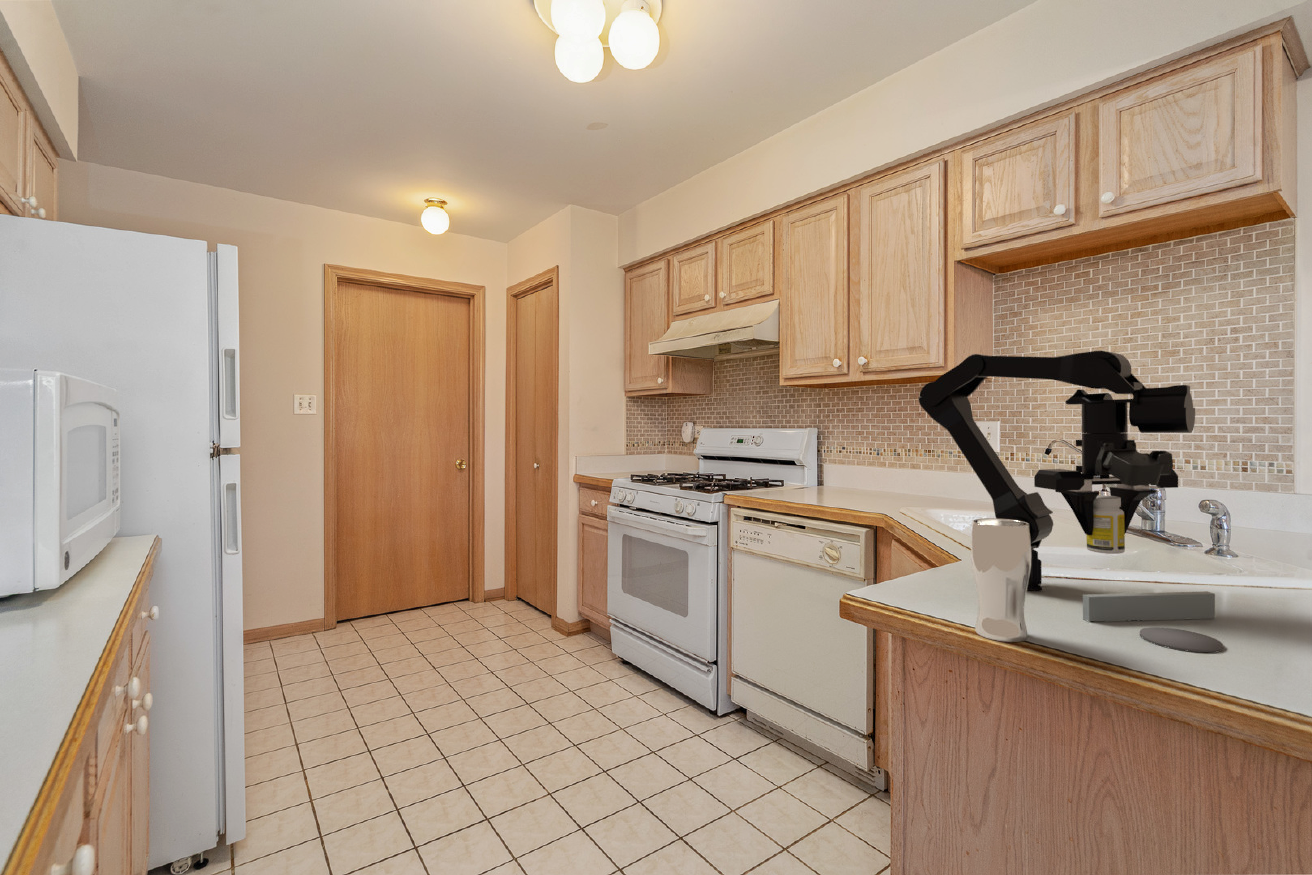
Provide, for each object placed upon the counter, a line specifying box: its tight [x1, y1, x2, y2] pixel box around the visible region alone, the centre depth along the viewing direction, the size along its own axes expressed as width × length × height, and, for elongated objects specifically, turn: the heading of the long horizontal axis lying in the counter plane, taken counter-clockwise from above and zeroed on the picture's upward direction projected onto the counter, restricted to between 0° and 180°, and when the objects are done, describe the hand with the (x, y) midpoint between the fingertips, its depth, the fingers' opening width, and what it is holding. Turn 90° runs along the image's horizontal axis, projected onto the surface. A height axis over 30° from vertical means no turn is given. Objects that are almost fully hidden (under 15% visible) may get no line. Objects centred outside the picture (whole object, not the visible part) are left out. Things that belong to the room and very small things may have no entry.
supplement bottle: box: [1085, 494, 1126, 555], centre depth 94 cm, size 5×5×8 cm
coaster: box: [1139, 626, 1224, 653], centre depth 78 cm, size 8×8×1 cm
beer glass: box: [970, 517, 1031, 643], centre depth 81 cm, size 7×7×15 cm
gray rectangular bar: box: [1082, 591, 1216, 622], centre depth 86 cm, size 18×1×4 cm, turn 91°
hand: (1105, 534), depth 94 cm, fingers closed on supplement bottle, 5 cm apart
